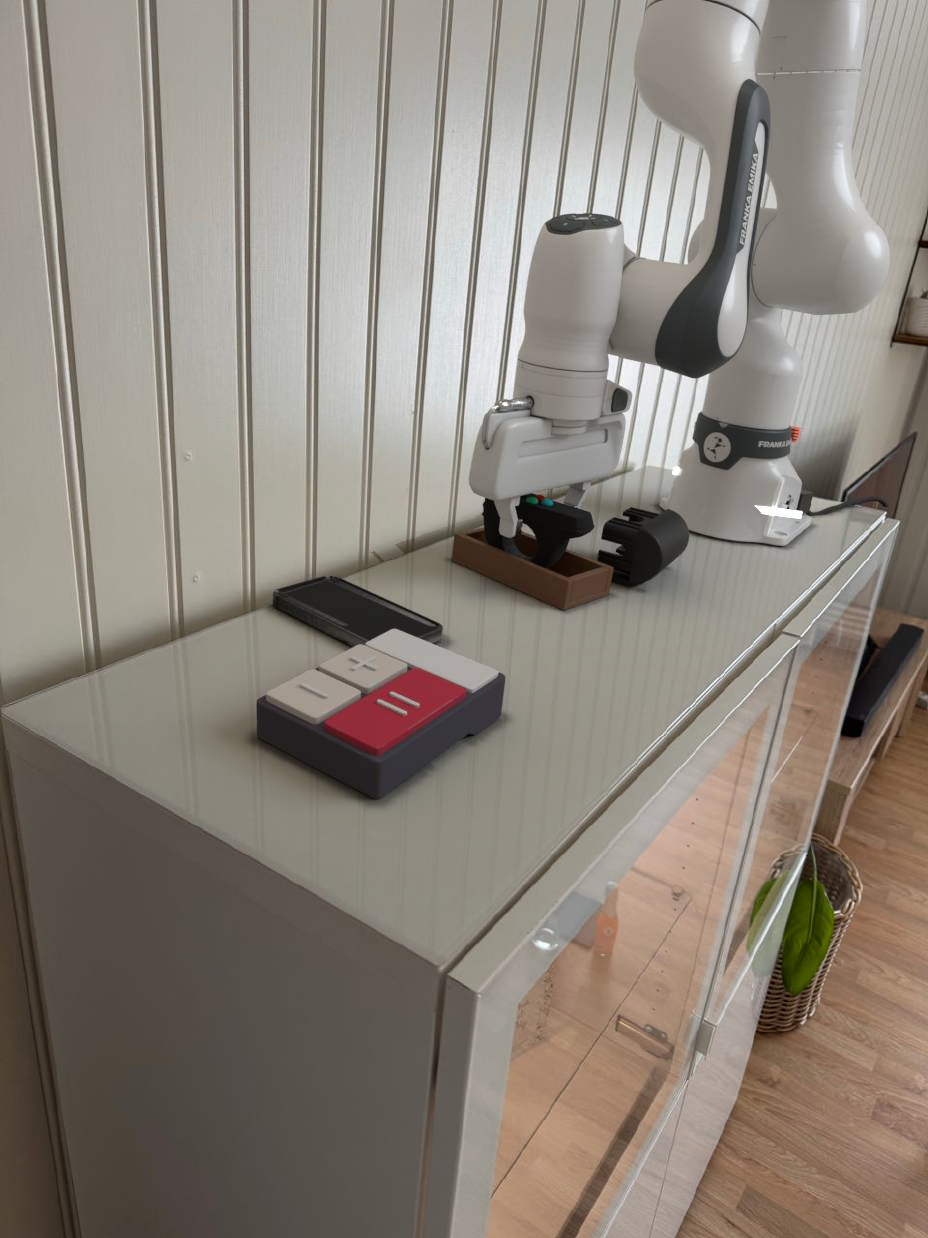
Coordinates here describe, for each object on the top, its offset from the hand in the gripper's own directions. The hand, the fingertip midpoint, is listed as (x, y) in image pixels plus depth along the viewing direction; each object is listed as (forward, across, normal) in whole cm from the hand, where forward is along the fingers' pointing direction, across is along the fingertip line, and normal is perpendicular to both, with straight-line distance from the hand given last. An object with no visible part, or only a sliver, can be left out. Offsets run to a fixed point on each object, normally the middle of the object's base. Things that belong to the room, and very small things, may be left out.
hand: (539, 527), depth 96 cm
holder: (+6, 0, 0) cm, 6 cm away
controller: (+5, 0, 0) cm, 5 cm away
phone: (+5, -24, +1) cm, 24 cm away
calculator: (+5, -34, -14) cm, 37 cm away
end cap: (+6, +12, -6) cm, 14 cm away
